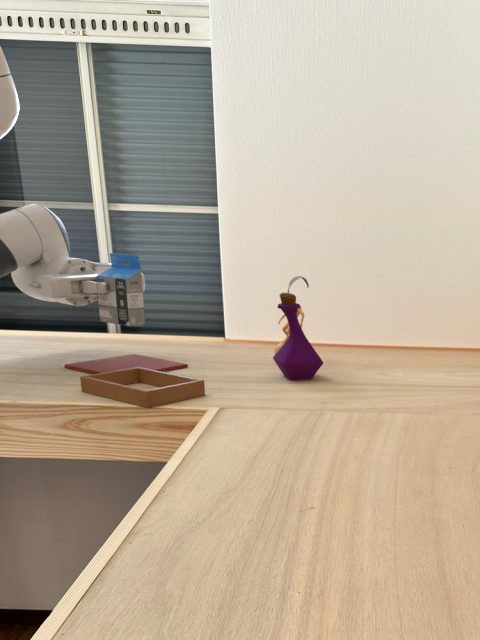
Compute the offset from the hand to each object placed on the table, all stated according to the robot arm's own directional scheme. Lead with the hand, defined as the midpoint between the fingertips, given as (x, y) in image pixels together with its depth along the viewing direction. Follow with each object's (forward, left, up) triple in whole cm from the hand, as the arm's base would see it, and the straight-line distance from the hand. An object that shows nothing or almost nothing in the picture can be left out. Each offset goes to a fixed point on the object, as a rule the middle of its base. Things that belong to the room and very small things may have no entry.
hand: (119, 287), depth 134 cm
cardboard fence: (-12, -20, -15) cm, 28 cm away
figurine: (+26, -18, -15) cm, 35 cm away
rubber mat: (0, 0, -15) cm, 15 cm away
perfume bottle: (+15, -30, -15) cm, 37 cm away
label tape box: (0, 0, -7) cm, 7 cm away
